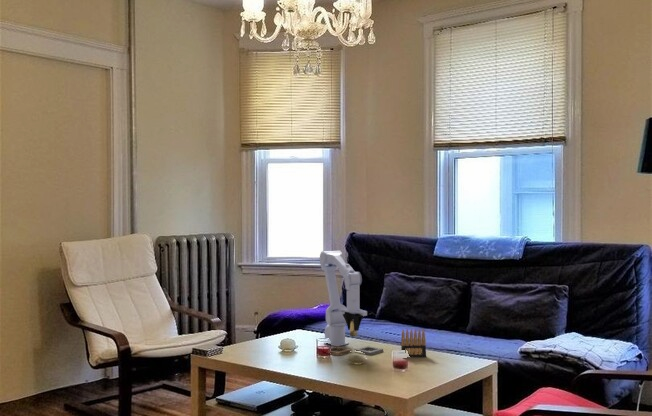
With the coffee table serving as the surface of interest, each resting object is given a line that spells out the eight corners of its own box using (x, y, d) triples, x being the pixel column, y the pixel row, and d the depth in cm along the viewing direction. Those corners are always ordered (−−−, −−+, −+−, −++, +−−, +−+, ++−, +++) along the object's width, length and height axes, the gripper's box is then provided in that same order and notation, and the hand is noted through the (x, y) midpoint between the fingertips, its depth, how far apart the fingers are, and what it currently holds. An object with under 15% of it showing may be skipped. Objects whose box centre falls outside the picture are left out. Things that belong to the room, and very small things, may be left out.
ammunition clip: (425, 356, 283) (425, 328, 283) (426, 357, 281) (426, 329, 281) (400, 356, 283) (400, 328, 282) (401, 357, 281) (401, 329, 281)
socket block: (354, 352, 291) (354, 349, 291) (367, 348, 298) (367, 346, 298) (370, 355, 285) (370, 352, 285) (383, 351, 292) (383, 349, 292)
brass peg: (348, 335, 291) (348, 320, 291) (353, 334, 294) (353, 319, 293) (353, 336, 289) (353, 321, 289) (358, 335, 291) (358, 320, 291)
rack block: (322, 352, 291) (322, 349, 291) (336, 349, 298) (336, 346, 298) (337, 355, 285) (337, 353, 285) (351, 352, 291) (351, 349, 291)
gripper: (335, 298, 293) (335, 329, 293) (359, 302, 283) (360, 333, 283) (345, 297, 298) (345, 326, 298) (370, 300, 288) (370, 331, 289)
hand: (353, 330), depth 291 cm, fingers closed on brass peg, 3 cm apart
